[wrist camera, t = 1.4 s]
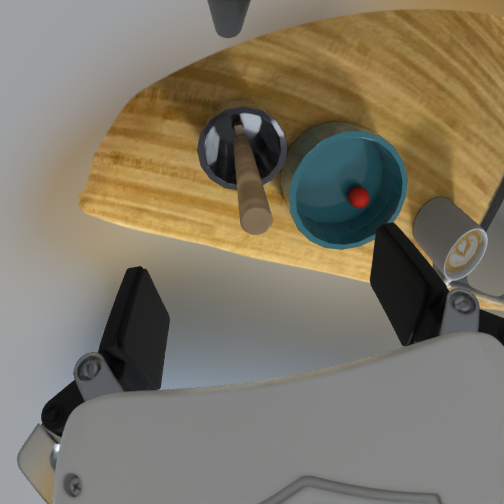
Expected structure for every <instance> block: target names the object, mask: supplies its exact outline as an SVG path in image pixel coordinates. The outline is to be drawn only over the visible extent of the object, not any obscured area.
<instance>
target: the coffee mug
mask: <svg viewBox="0 0 504 504" xmlns="http://www.w3.org/2000/svg"><path fill="white" fill-rule="evenodd" d="M413 235H414V238H415V240H416V242H417V243H418V244H419V245H420V246H421V247H422V249H423V250H424V251H425V252H426V253H427V255H428V256H429V257H430V258H431V259H432V261H433V269H434V270H435V271H436V273H437V274H438V275H439V276H440V278H441V279H442V280H443V282H444V283H449V282H451V281H452V280H458V279H461V278H463V277H465V276H466V275H468V274H469V273H470V272H471V271H472V270H473V269H474V268H475V267H476V266H477V265H478V263H479V262H480V261H481V259H482V257H483V255H484V253H485V250H486V247H487V235H486V232H485V231H484V230H483V229H482V228H481V227H480V226H479V225H478V224H477V223H476V222H475V221H474V220H472V219H471V218H470V217H469V216H468V215H467V214H466V213H464V212H463V211H462V210H461V209H460V208H459V207H457V206H456V205H455V204H454V203H453V202H451V201H450V200H449V199H447V198H445V197H437V198H434V199H432V200H430V201H429V202H427V203H426V204H425V205H424V206H423V207H422V208H421V210H420V211H419V213H418V214H417V216H416V218H415V221H414V225H413Z"/></svg>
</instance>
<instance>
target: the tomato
mask: <svg viewBox="0 0 504 504" xmlns="http://www.w3.org/2000/svg"><path fill="white" fill-rule="evenodd" d="M348 200H349V203H350V204H351V205H352V206H353V207H355V208H363V207H365V206H366V205H367V204H368V202H369V193H368V192H367V190H366V189H365V188H363V187H359V186H358V187H354V188H352V189H351V190H350V192H349V194H348Z"/></svg>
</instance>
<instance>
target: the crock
mask: <svg viewBox="0 0 504 504" xmlns="http://www.w3.org/2000/svg"><path fill="white" fill-rule="evenodd" d="M236 118H240V120H241V123H242V128H243V134H244V135H245V136H247V138H248V140H249V143H250V146H251V149H252V152H253V155H254V159H255V162H256V165H257V168H258V172H259V175H260V178H261V181H262V185H264V184H266V183H267V182H269V181H271V180H272V179H273V178H274V177H275V176H276V175H277V173H278V172H279V171H280V170H281V168H282V167H283V164H284V161H285V158H286V154H287V144H286V136H285V133H284V132H283V130H282V128H281V127H280V125H279V123H278V122H277V120H276V119H275V118H274V117H272V116H271V115H270V114H269V113H268V112H267V111H266V110H265V109H264V108H262V107H261V106H259V105H258V104H256V103H255V102H252V101H248V100H243V99H237V100H231V101H227V102H225V103H223V104H221V105H219V106H218V107H217V108H215V109H214V110H213V112H212V113H211V114H210V116H209V117H208V119H207V120H206V123H205V125H204V127H203V129H202V131H201V133H200V138H199V143H198V148H197V152H198V156H199V161H200V165H201V167H202V169H203V170H204V171H205V173H206V174H207V175H208V177H209V178H210V179H211V180H212V181H214V182H216V183H217V184H219V185H221V186H222V187H224V188H228V189H234V190H237V181H236V169H235V158H234V146H233V140H234V138H235V137H236V133H235V128H234V121H233V119H236Z"/></svg>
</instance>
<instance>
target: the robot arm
mask: <svg viewBox="0 0 504 504" xmlns="http://www.w3.org/2000/svg"><path fill="white" fill-rule="evenodd" d="M370 283H371V286H372V288H373V290H374V292H375V294H376V296H377V298H378V299H379V301H380V303H381V305H382V307H383V309H384V311H385V312H386V314H387V316H388V318H389V320H390V322H391V324H392V326H393V328H394V330H395V332H396V334H397V336H398V338H399V340H400V342H401V344H402V345H403V346H406V347H403V348H400V349H396V350H393V351H389V352H386V353H383V354H379V355H376V356H372V357H369V358H365V359H361V360H357V361H354V362H349V363H346V364H342V365H337V366H333V367H328V368H324V369H319V370H315V371H310V372H305V373H300V374H295V375H289V376H285V377H278V378H272V379H266V380H259V381H252V382H245V383H237V384H229V385H220V386H211V387H210V386H209V387H199V388H185V389H171V390H170V389H168V390H157V389H160V388H161V381H162V373H163V365H164V358H165V350H166V343H167V336H168V330H169V323H170V318H169V314H168V312H167V310H166V308H165V306H164V304H163V302H162V300H161V298H160V296H159V294H158V292H157V290H156V288H155V286H154V283H153V281H152V279H151V277H150V275H149V273H148V271H147V270H146V269H143V268H142V267H141V266H139V267H133V268H128V269H127V271H126V273H125V276H124V278H123V281H122V283H121V286H120V289H119V291H118V294H117V296H116V299H115V302H114V305H113V308H112V310H111V313H110V316H109V319H108V322H107V324H106V327H105V331H104V334H103V337H102V340H101V343H100V346H99V351H98V353H97V352H91V353H87V354H85V355H84V356H82V357H81V358H80V359H79V360H78V361H77V363H76V365H75V368H74V373H73V374H74V378H75V380H74V381H73V382H71V383H70V384H69V385H68V386H67V387H65V388H64V389H63V390H62V391H60V392H59V393H58V394H57V395H56V396H54V397H53V398H52V399H51V400H50V401H48V403H46V405H45V406H44V408H43V410H42V414H41V420H42V424H41V425H40V424H39V423H38V424H37V426H36V427H35V429H34V430H33V432H32V433H31V435H30V436H29V437H28V439H27V441H26V442H25V444H24V445H23V446H22V448H21V450H20V451H19V453H18V457H17V462H18V466H19V468H20V470H21V471H22V473H23V474H24V475H25V477H26V478H27V479H28V481H29V482H30V483H31V485H32V486H33V487H34V488H35V490H36V491H37V492H38V493H39V495H40V496H41V497H42V498H43V499H44V501H45V502H46V503H47V504H504V318H502V317H499V316H497V315H494V314H491V313H489V312H486V311H483V310H481V309H479V308H480V307H479V302H478V300H477V298H476V297H475V295H474V294H472V293H471V292H470V291H468V290H465V289H461V288H456V289H453V290H451V291H449V290H448V289H447V287H446V284H445V283H444V282H443V280H442V279H441V278H440V276H439V275H438V274H437V273H436V271H435V270H434V269H433V267H432V266H431V265H430V264H429V262H428V261H427V260H426V259H425V258H424V256H423V255H422V254H421V253H420V252H419V250H418V249H417V248H416V247H415V246H414V244H413V243H412V242H411V241H410V240H409V239H408V237H407V236H406V235H405V234H404V233H403V232H402V231H401V230H400V228H399V227H398V226H397V225H396V224H395V223H393V222H391V223H385V224H381V225H380V226H379V228H377V229H376V234H375V244H374V253H373V261H372V268H371V276H370Z"/></svg>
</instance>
